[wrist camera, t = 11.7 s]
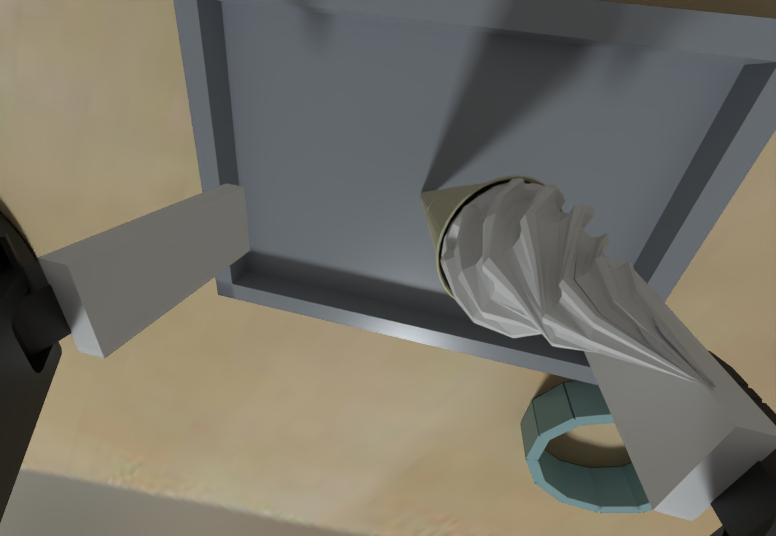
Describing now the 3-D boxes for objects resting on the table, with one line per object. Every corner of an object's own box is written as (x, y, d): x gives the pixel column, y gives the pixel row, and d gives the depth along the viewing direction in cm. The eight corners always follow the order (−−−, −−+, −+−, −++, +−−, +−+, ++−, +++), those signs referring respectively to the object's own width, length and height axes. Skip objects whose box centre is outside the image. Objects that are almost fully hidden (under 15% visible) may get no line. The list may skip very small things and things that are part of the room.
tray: (243, 274, 26) (218, 294, 24) (211, -25, 17) (166, -45, 15) (593, 354, 23) (609, 387, 20) (774, 36, 14) (842, 25, 12)
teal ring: (506, 452, 29) (509, 487, 27) (549, 363, 24) (559, 397, 21) (635, 487, 28) (652, 528, 25) (711, 401, 23) (742, 442, 20)
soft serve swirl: (407, 131, 17) (772, 201, 4) (481, 174, 19) (881, 314, 6) (364, 218, 19) (539, 478, 6) (437, 250, 21) (691, 495, 8)
